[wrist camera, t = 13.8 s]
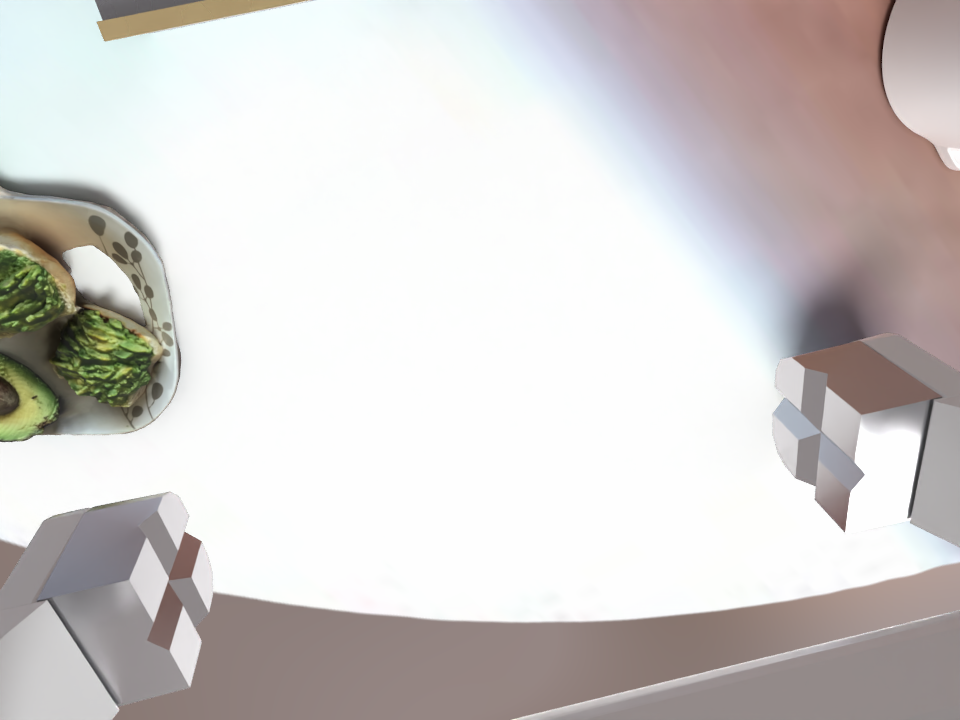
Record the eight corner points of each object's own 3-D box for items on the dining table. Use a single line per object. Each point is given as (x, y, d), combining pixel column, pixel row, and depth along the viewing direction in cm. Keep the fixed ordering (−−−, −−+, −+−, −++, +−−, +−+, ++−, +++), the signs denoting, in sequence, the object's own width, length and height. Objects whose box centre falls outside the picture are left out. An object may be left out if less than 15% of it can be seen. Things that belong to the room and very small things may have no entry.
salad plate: (-175, 124, 38) (-237, 139, 34) (169, 155, 42) (150, 171, 38) (-91, 421, 47) (-133, 461, 43) (189, 426, 50) (175, 463, 46)
